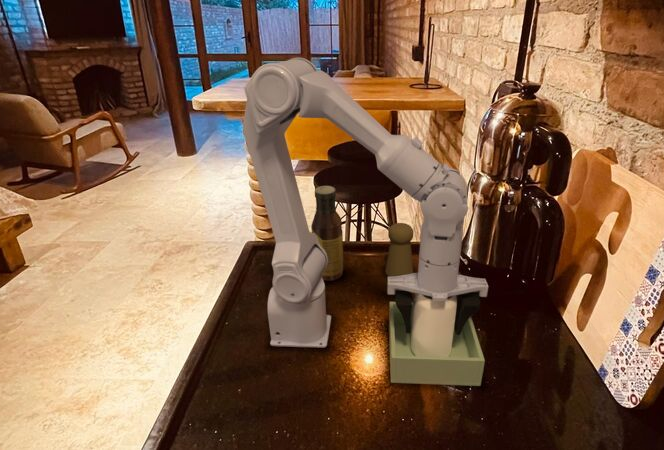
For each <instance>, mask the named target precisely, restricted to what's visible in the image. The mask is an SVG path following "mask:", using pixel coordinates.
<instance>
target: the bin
mask: <svg viewBox="0 0 664 450" xmlns="http://www.w3.org/2000/svg"><path fill="white" fill-rule="evenodd" d="M388 307H389V310H388V312H389V313H388V338H389V339H388V340H389V343H388V344H389V364H390V365H389V369H390V370H389V371H390V372H389V373H390V375H389V376H390V383H391V384H415V385H419V384H420V385H443V386H444V385H445V386H446V385H447V386H469V387H470V386H471V387H472V386H473V387H481V385H482V379H483V373H484V367H485V364H486V363H485V362H486V359H485V357H484V353H483V351H482V347H481V344H480V340H479V338H478V334H477V332H476V329H475V324H474V322H473V318H472V316H471V317H470V318H469V319H468V320H467V322H466V324H465V325H464V327H463V329H462V331H461V334H460V335H456V333H455V329H454V332H453V340H452V347H451V353H450V355H449V357H439V356H415V355H414V353H413V352H412V350H411V333H406V327H405V322H404V319H403V317H402V315H401V313H400V311H399V309H398V308H397V306H396V303H395V301H389V306H388ZM412 315H413V301H412V311H411V330H412Z"/></svg>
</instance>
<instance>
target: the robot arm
mask: <svg viewBox="0 0 664 450" xmlns="http://www.w3.org/2000/svg"><path fill="white" fill-rule="evenodd" d="M243 89H244V93H245V98H246V102H245V103H246V104H245V110H244V115H243V121H242V132H243V136H244V140H245V144H246V147H247V150H248V153H249V157H250V160H251V164H252V168H253V170H254V174H255V176H256V180H257V184H258V187H259V191H260V193H261V197H262V200H263V204H264V207H265V210H266V214H267V218H268V221H269V224H270V227H271V231H272V234H273V238H274V241H275V246H274V250H273V255H272V260H271V266H272V271H273V277H272V282H271V283H272V287H271V288H270V289H269V292H268V298H267V319H268V325H269V334H270V342H269V344H270V347H286V348H287V347H288V348H316V349H317V348H319V349H324V348H326V347H327V346H328V342H329V335H330V328H331V323H332V315H330V314H327V305H326V304H327V301H326V300H327V299H326V285H325V282H324V280H323V278H322V272H323V271H324V270H325V269H326V267H327V265H328V256H327V254H326V252H325V250H324V249H323V248H322V247H321V245H320V244H319V241H318V238H317V235H315V234H314V233H312V231H311V230H309V224H308V221H307V217H306V213H305V210H304V206H303V202H302V198H301V193H300V189H299V186H298V182H297V179H296V175H295V171H294V166H293V163H292V159H291V158H292V157H291V155H290V151H289V147H288V143H287V139H286V136H285V135H286V131H287V130H288V129H289V127H290V126H291V124H292V123H293V122H294V120H295V118H296V117H297V116H298V118H303V119H326V120H328V121H329V122H331V123H332V124H333V125H334V126H336V127H337V128H339V129H340V130H341V131H343V132H344V133H345V134H346V135H348V136H350V137H351V138H352V139H353V140H354V141H356V142H357V143H359V145H361V146H363V147H364V148H365V149H367V150H368V151H369V152H370V153H372V154H373V155H374V156H375V160H376V167H377V170H378V171H379V172H381V173H382V174H383V175H385V177H387V178H388V179H389V180H390V181H392V183H394V184H395V185H396V186H398V187H399V188H400V189H401V190H403V191H404V192H405V193H406V194H407V195H408V196H410V197H411V198H412V199H414V201H415V200H416V201H418V202H419V206H420V207H419V208H420V212H421V213H422V215H423V222H422V223H421V225H420V226H421V227H420V239H419V251H418V253H419V255H418V267H417V272H413V274H408V275H402V276H395V277H390V276H387V283H386V284H387V286H386V289H387V291H386V293H387V295H388V296H389V295H391V296H392V295H393V296H394V302H395V303H396V306H397V308H398V309H399V311H400V313H401V315H402V317H403V319H404V322H405V327H406V333H411V311H412V302H413V301H412V293H413V294H414V293H417V294H422V295H426V296H430V297H432V299H433V300H434V301H447V298H448V297H450V296H455V295H456V297H457V307H456V316H455V324H454V329H455V333H456V335H460V334H461V331H462V329H463V327H464V325H465V324H466V322H467V320H468V319H469V318H470V317H471V318H472V315H473V314H474V313H476V312H477V311H478V310H479V309H480V306H481V300H480V297H481V298H487V297H488V292H489V285H488V282H487V279H486V278H480V277H473V276H467V275H462V274H459V269H460V268H459V267H460V262H461V261H460V260H461V255H462V254H461V253H462V244H463V237H464V227H463V225H464V223H465V218H466V216H467V213H468V211H469V206H468V184H467V182H466V179H465V178H464V177H463V176H462V175H461V173H460V171H459V170H457V169H455V168H451V167H450V166H449V164H447V163H445V162H444V163H443V164H442V163H441V162H439V161H438V160H437V159H436V158H434V157H433V156H432V155H431V154H430V153H429V152H427V151H426V150H425V149H424V148H423V144H424V142H423V141H422V140H421V139H420V138H418V137H417V136H415V137H414V138H411V137H409V135H407V134H391V133H390V132H389V131H388V130H387V129H386V128H385V127H384V126H383V125H381V124H380V123H379V122H378V120H376V118H374V117H373V116H372V115H371V114H369V112H368V111H366V109H365V108H363V107H362V106H361V105H360V103H358V102H357V101H356V100H355V99H353V97H351V95H350V94H348V93H347V91H345V90H344V89H343V88H342V87H341V86H340V85H338V83H337V82H336V81H335V80H334V79H333V78H332V77H331V76H330V75H329V74H328V73H327V72H325V71H323V70H321V69H318V68H317V67H316V65H315V64H314V63H312V61H310V60H308V59H307V58H304V57H291V58H290V59H288V60H285V61H278V62H269V63H265V64H263V65H261V66H259V67H258V68H257V69H255V71H254V73H253V74H252V75H251V77H250V78H249V80H248V81H247V83H246V84H245V86H244V88H243Z"/></svg>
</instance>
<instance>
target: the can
mask: <svg viewBox="0 0 664 450" xmlns="http://www.w3.org/2000/svg"><path fill="white" fill-rule="evenodd" d="M412 302H413V315H412V330H411V350H412V352H413V353H414V355H415V356H439V357H449V355H450V353H451V347H452V340H453V332H454V324H455V316H456V307H457V295H455V296H450V297H448V298H447V301H434V300H433V299H432V297H430V296H426V295H422V294H417V293H413V301H412Z"/></svg>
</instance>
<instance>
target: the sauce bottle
mask: <svg viewBox="0 0 664 450" xmlns="http://www.w3.org/2000/svg"><path fill="white" fill-rule="evenodd" d="M336 191H337V190H336V188H335V187H334V186H331V185H320V186H318V187H316V188H315V189H314V197H315V205H316V207H315V213H314V216H313V219H312V222H311V225H310V227H311V232H312V233H314V234H315V235H317V238H318V241H319V244H320V245H321V247H322V248H323V249H324V250H325V252H326V254H327V256H328V265H327V267H326V269H325V270H324V271H323V272H322V278H323V281H326V282H333V281H337V280H339V279H340V278H341V277H342V276H343V274H344V238H343V236H344V235H343V233H344V232H343V222H342V218H341V215H339V213H338V212H337V210H336V209H337V206H336V196H337V193H336Z"/></svg>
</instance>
